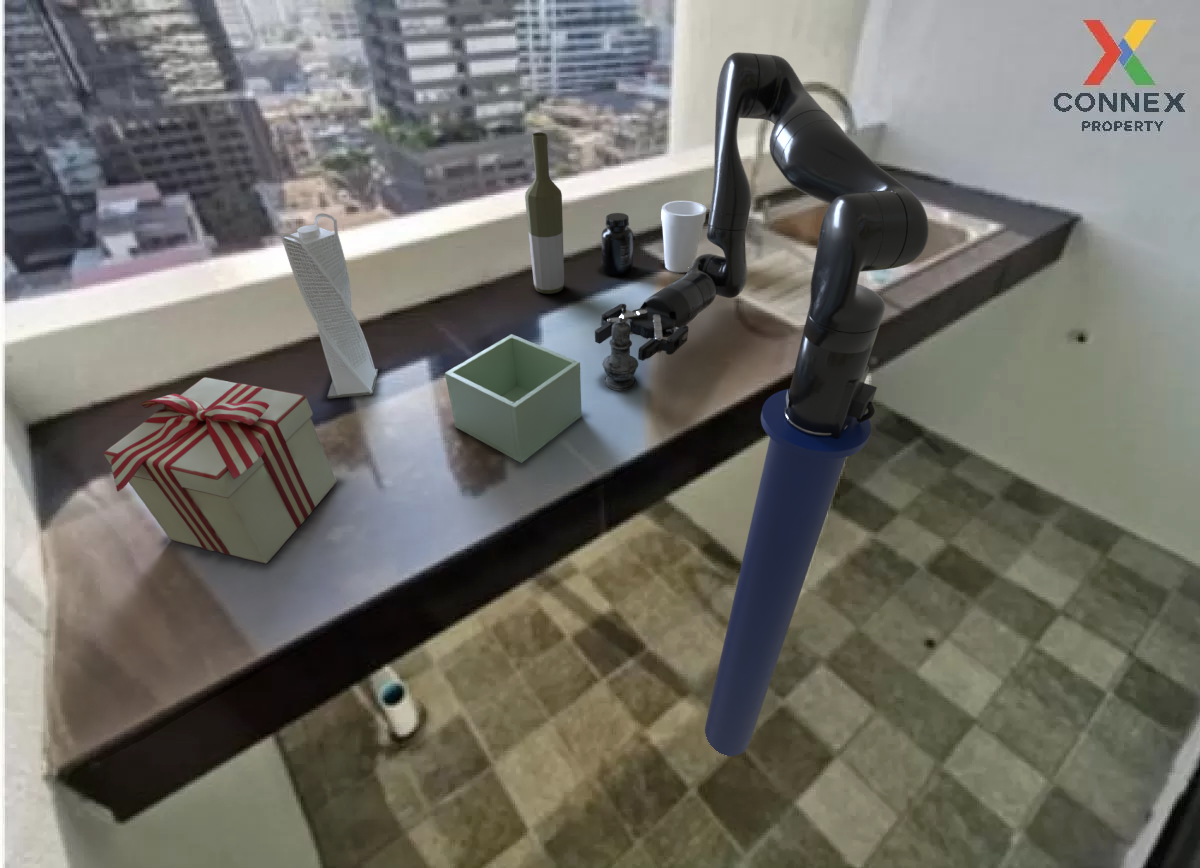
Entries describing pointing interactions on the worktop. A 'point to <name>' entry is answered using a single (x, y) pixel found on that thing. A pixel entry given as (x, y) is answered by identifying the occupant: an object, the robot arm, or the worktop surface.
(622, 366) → the dark grey turned piece
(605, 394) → the worktop surface
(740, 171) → the robot arm
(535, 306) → the worktop surface
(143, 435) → the gift box
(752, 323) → the worktop surface
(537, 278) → the bottle
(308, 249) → the skyscraper
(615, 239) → the supplement bottle
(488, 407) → the waste bin
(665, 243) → the foam cup
